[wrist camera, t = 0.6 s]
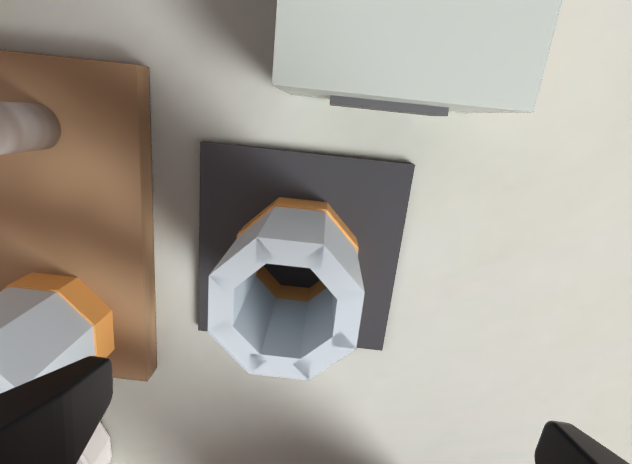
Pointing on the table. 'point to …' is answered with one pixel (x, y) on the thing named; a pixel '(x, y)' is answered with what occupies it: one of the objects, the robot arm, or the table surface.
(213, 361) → the table surface
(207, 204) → the pad
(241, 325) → the sleeve
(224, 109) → the table surface
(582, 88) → the table surface
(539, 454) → the robot arm
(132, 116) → the pin board
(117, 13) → the table surface
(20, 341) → the sleeve
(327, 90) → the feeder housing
